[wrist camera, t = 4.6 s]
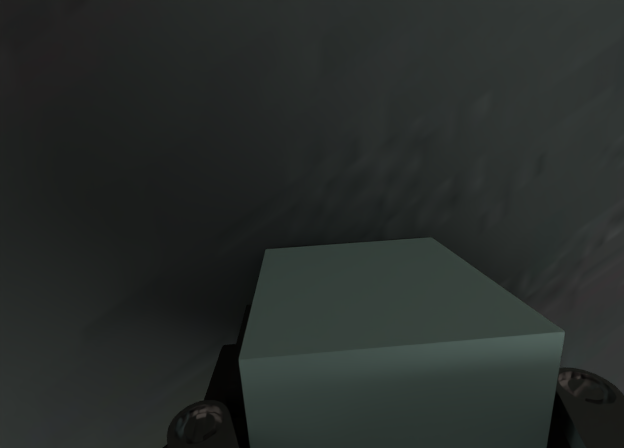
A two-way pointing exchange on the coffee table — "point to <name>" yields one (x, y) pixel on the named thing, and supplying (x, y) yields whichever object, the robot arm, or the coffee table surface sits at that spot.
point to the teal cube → (393, 352)
